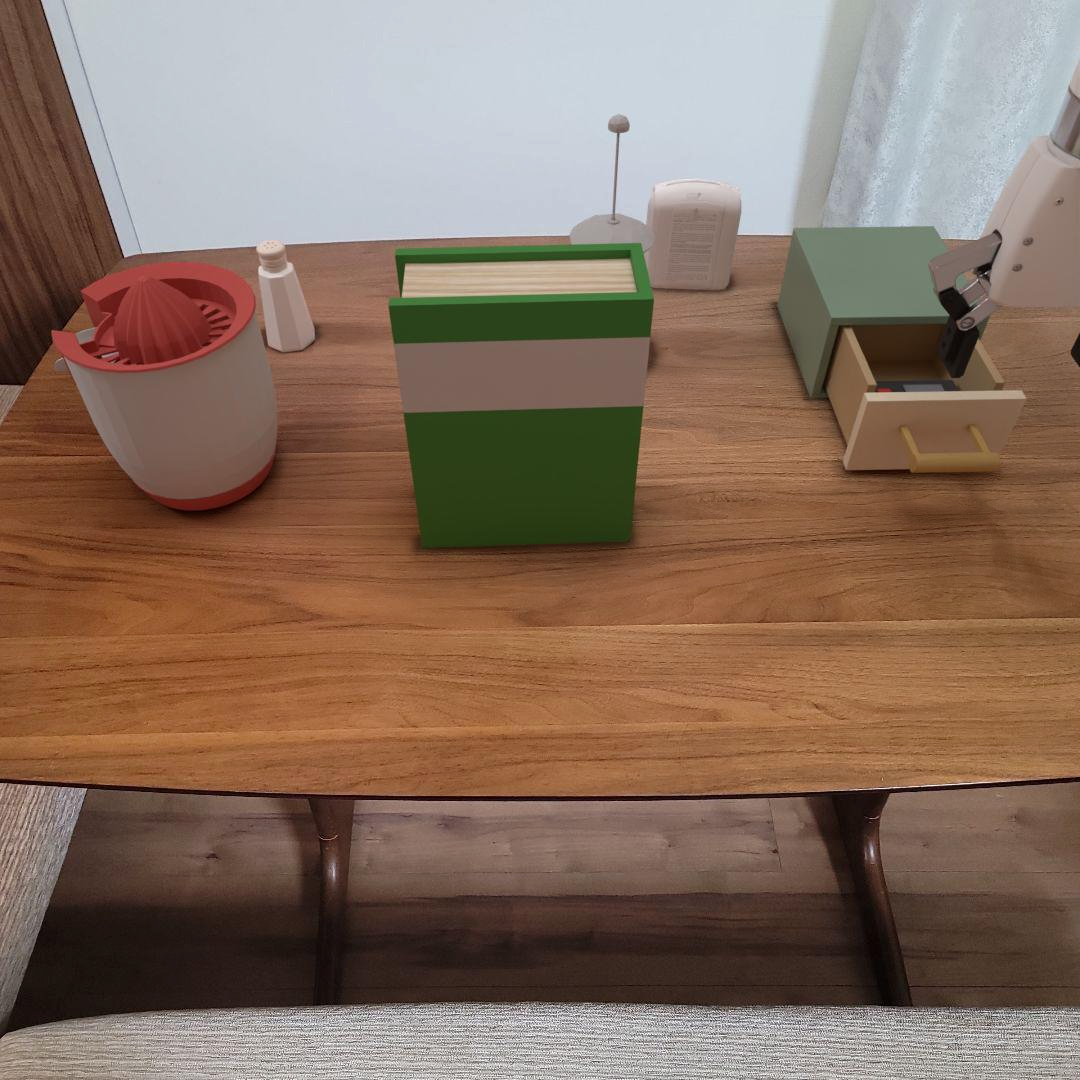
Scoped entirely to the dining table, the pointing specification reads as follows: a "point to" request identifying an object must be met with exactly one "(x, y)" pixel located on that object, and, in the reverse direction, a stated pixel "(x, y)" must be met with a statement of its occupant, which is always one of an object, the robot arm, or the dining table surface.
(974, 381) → the drawer
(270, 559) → the dining table surface
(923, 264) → the cabinet
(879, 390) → the remote
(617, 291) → the hardback book
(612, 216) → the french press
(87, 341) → the citrus juicer
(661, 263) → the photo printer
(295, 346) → the salt shaker
